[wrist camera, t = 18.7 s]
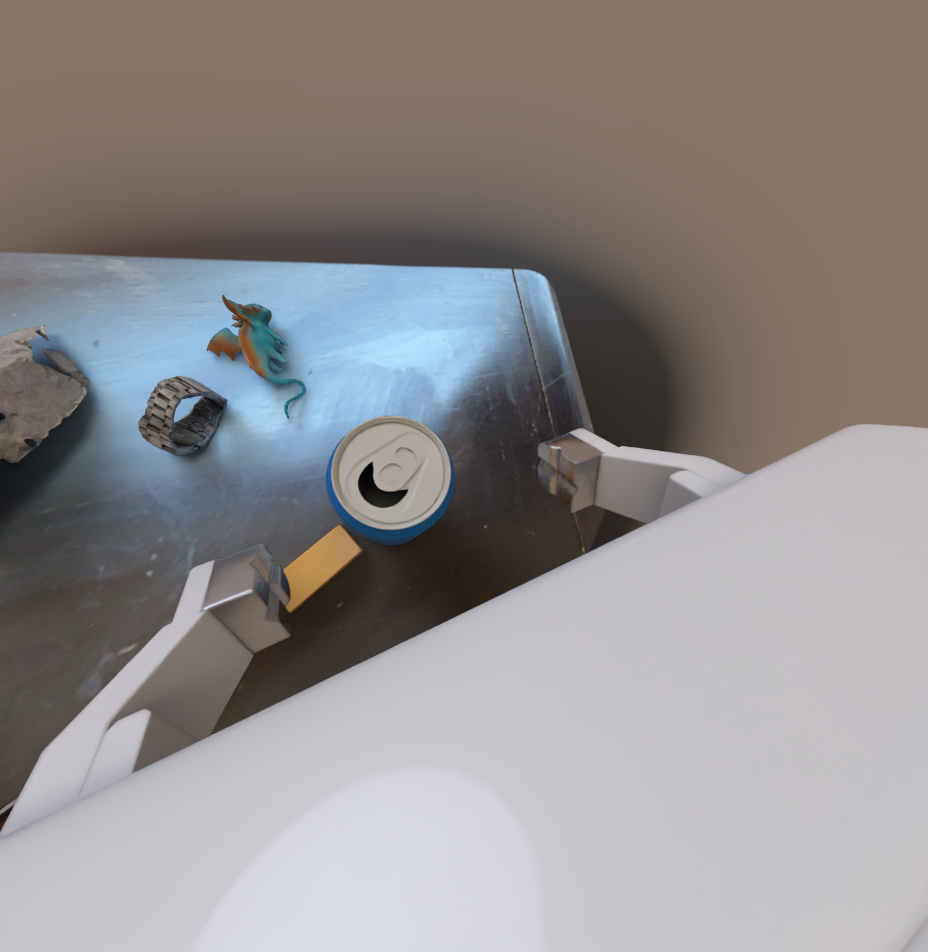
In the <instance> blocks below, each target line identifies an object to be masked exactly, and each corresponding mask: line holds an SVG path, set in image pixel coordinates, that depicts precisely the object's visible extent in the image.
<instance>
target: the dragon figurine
mask: <svg viewBox="0 0 928 952" xmlns="http://www.w3.org/2000/svg"><path fill="white" fill-rule="evenodd" d="M222 299H223V302H224V304H225V305H226V307H227V308H228V309H229V310H230V311H231V312H232V313H233V314H235V315H236V316H234V315H232V316H233V318H232V319H234V320H237V321H238V322H239V323H234V324H235V325H234V324H233V325H231V326H234V327H236V328H237V327H239V328H241V327H242V328H241V329H239V336H236V335H234V334H233V333H232V332H231V331H230V330H229V329H228V328H224V329H222V330H220V331H219V332H218V333H216V334H215V335H214V336H213V337H212V339H211V340H210V343H209V345H208V347H207V351H208V350H210V351H212V352H214V353H215V354H216V355H217V356H220V352H222V351H223V352H225V353H226V354H227V355H228V356H230V358H231V359H232V360H233V361H234V354H235V353H236V352H239V353H241V350H242V351H243V354H244V356H245V359H246V361H247V362H248V364H249V367H250V368H251V369H253V370H254V371H255V372H256V373H257V374H258V375H260V376H261V377H262V378H264V379H266V380H267V381H269V382H271V383H274V384H278V385H285V384H291V383H299V384H300V385H301V386H302V391H301V392H300V393H299V394H298V395H297V396H295V397H293V398H291V399H289V400H288V401H287V402H286V404H285V408H284V410H285V414H286V416H287V418H288V419H289V416H288V412H287V409H288V405H289V403H290V402H291V401H293V400H295V399H297V398H298V397H300V396H301V395H303V394H304V392H305V385H304V384H303V382H301V381H300V380H297V379H282V378H279V377H276V376H275V375H274V374H272V373H271V371H270V369H269V367H270V368H272V369H274V370H275V371H276V372H278V373H279V371H280V372H282V370H281V368H279V367H277V366H276V365H275V364H274V363H273V362H272V361H271V360H270V358H271V357H273V358H275V359H277V360H278V361H279V362H280V363H281V364H286V363H287V362H286V360H284V359H283V358H282V357H281V354H282V352H281V351H280V350H277V349H278V346H277V342H276V340H278V341H279V342H280V343H281V344H282V345H283V346H284V345H285V346H287V344H286V343H285V341H283V340H282V339H281V338H280V337H279V336H278V335H277V334H276V333H275V332H273V331H272V330H271V329H270V328H269V327H268V323H269V321H270V320H271V317H272V315H271V314H272V313H271V311H270V310H268V309H267V308H264V307H262V306H260V305H258V304H247V305H245V306H243V305H241V304H236V303H235V302H233V301H230V300H227V299H226V298H225V296H224V295H223V297H222ZM239 308H240V309H241V310H240V309H239ZM239 320H241V321H239Z"/></svg>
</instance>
